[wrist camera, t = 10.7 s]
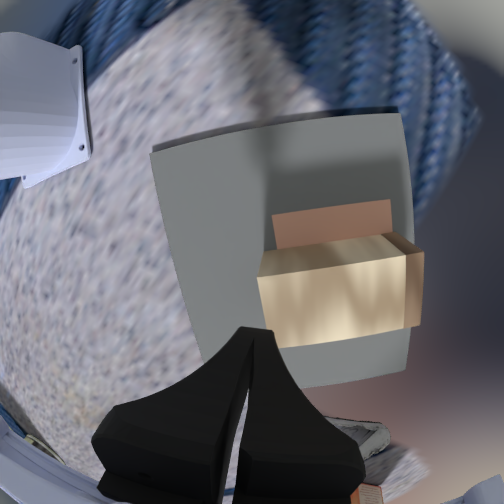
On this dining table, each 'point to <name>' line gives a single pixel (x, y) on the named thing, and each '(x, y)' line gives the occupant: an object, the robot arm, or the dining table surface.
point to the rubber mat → (283, 224)
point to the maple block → (341, 289)
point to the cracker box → (367, 495)
